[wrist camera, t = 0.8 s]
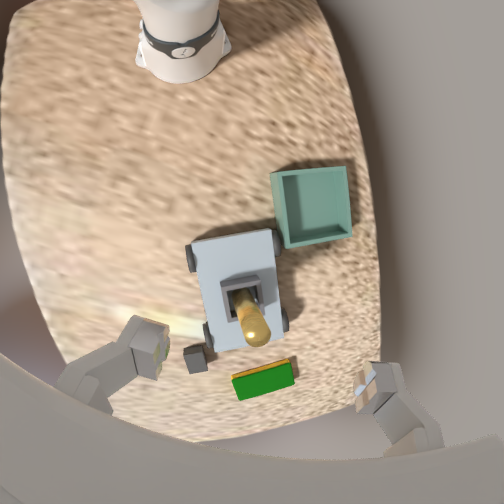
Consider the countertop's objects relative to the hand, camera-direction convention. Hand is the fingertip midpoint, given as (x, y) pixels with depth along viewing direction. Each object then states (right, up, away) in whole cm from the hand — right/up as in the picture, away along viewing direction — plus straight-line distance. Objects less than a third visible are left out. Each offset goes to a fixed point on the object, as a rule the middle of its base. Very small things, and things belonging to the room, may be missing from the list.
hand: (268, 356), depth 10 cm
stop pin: (-3, -4, +40) cm, 41 cm away
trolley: (-3, -3, +45) cm, 45 cm away
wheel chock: (-13, -18, +47) cm, 52 cm away
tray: (+10, +13, +44) cm, 47 cm away
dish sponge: (+2, -25, +51) cm, 57 cm away
